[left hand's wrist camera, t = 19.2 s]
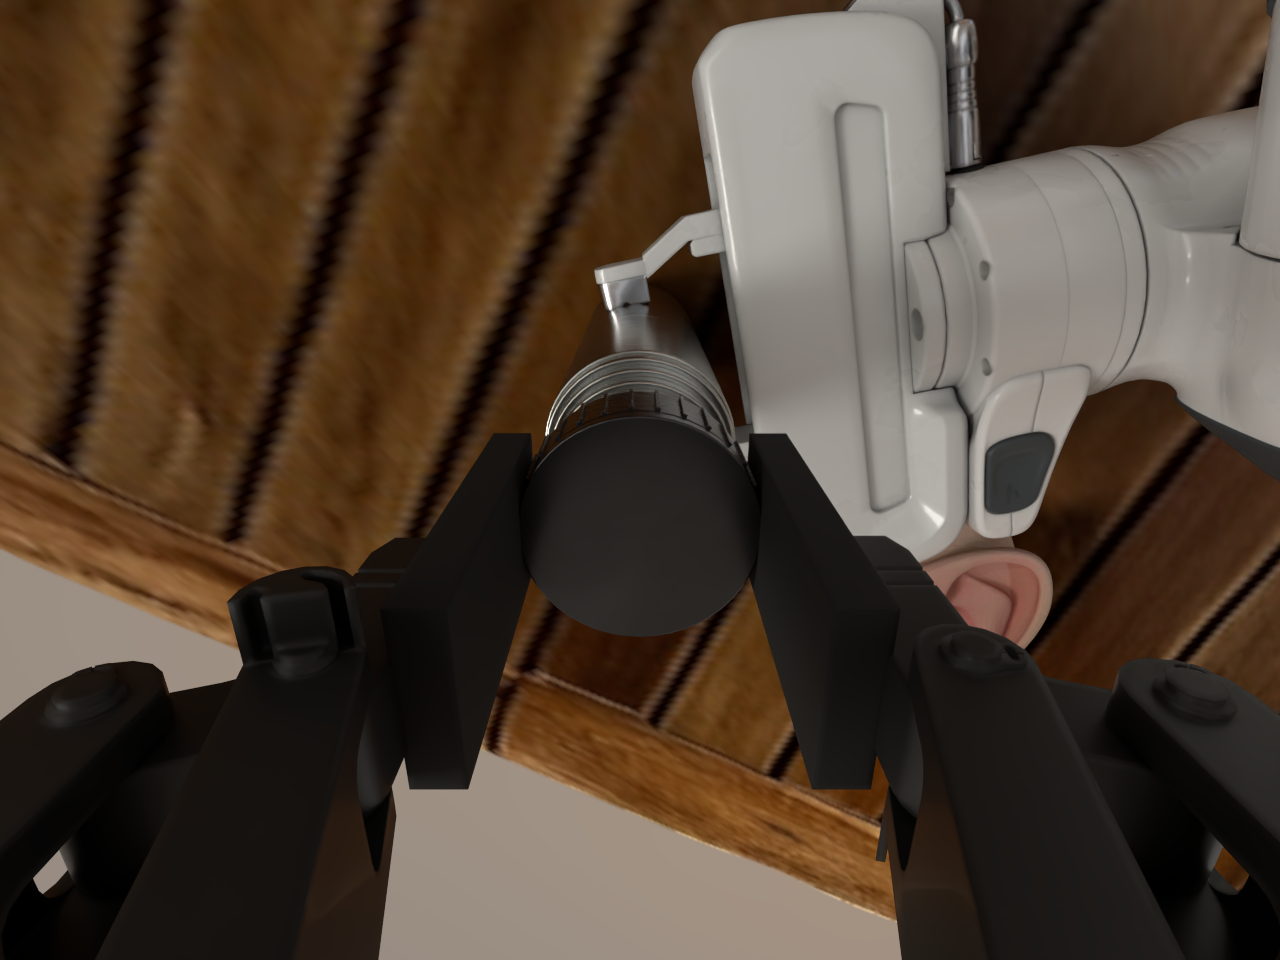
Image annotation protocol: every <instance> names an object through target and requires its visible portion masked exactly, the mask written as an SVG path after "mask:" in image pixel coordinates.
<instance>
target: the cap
mask: <svg viewBox="0 0 1280 960" xmlns="http://www.w3.org/2000/svg"><path fill="white" fill-rule="evenodd" d="M525 481H527V484H526V487H525V489H524V492H523V495H522V499H521V502H520V506H519V519H520V533H521V547H522V556H523V560H524V563H525V565H526V567H527V569H528V571H529V573H530V575H531V577H532V578H533V580H534V582H535V583H536V585H537V586H538V588H539V589H540V590H541V591H542V593H543V594H544V595H545V596H546V597H547V598H548V599H549V600H550V601H551V602H552V603H553V604H554V605H555V606H556V607H557V608H559V609H560V610H561V611H563V612H564V613H565V614H567V615H568V616H570V617H571V618H573V619H575V620H577V621H579V622H580V623H582V624H584V625H587V626H589V627H592V628H594V629H597V630H600V631H604V632H607V633H611V634H617V635H623V636H637V637H643V636H657V635H663V634H669V633H673V632H676V631H680V630H683V629H686V628H688V627H691V626H693V625H696V624H698V623H700V622H702V621H703V620H705V619H707V618H709V617H710V616H712V615H713V614H715V613H716V612H717V611H719V610H720V609H722V608H723V607H724V606H725V605H726V604H727V603H728V602H729V601H730V600H731V599H732V598H733V597H734V596H735V595H736V594H737V593H738V591H739V590H740V589H741V588H742V586H743V585H744V583H745V582H746V580H747V579H748V577H749V575H750V574H751V571H752V569H753V567H754V565H755V563H756V560H757V557H758V552H759V539H760V526H761V507H760V502H759V499H758V495H757V492H756V489H757V488H758V486H757V483H756V481H755V479H754V476H753V474H752V472H751V469H750V467H749V465H748V462H747V461H746V459H745V457H744V454H743V452H742V449H741V447H740V445H739V443H738V441H737V440H736V441H734V440H733V439H732V437H731V436H730V434H729V433H728V432H727V429H726V427H725V424H724V423H723V422H721V423H719V422H718V421H717V420H715V419H714V418H713V417H712V416H711V415H710V414H708V413H707V410H706V408H705V407H703V406H702V408H699V407H698V406H696V405H694V404H692V403H690V402H688V401H686V400H684V397H683V396H679V398H677V397H674V396H671V395H667V394H662V393H659V390H655V392H644V391H636V392H634V390H633V389H629V392H623V393H618V394H613V395H609V394H608V393H606V394H604V397H603V398H600V399H597V400H594V401H592V402H590V403H588V404H585V402H584V403H582V404H581V406H580V408H579V409H578V410H576V411H575V412H573V413H572V414H570V415H569V416H568V417H567V418H565V417H564V416H563V417H562V418H561V420H560V423H559V425H558V426H557V427H556V429H555V430H554V431H553V432H552V433H551V434H550V435H549V434H547V435H546V436H545V439H544V441H543V444H542V446H541V448H540V451H539V453H538V455H537V454H536V455H535V457H534V459H533V462H532V464H531V466H530V469H529V471H528V473H527V476H526V478H525Z"/></svg>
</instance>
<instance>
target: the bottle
mask: <svg viewBox="0 0 1280 960" xmlns="http://www.w3.org/2000/svg"><path fill="white" fill-rule="evenodd" d="M648 289H649V294H650V302H645V303H641V304H634V305H631V304H629V303H626V302H625V304H624V305H623V306H622V307H619V308H617V309H613V310H603V306H602V302H601V303H600V304H599V305H598V307H597V308H596V310H595V312H594V314H593V316H592V318H591V320H590V323H589V325H588V327H587V329H586V331H585V334H584V336H583V338H582V340H581V343H580V345H579V347H578V349H577V351H576V354H575V356H574V358H573V360H572V363H571V365H570V367H569V369H568V371H567V374H566V376H565V378H564V380H563V382H562V385H561V387H560V389H559V391H558V394H557V396H556V398H555V400H554V403H553V405H552V407H551V409H550V412H549V416H548V419H547V423H546V430H545V436H546V435H547V434H549V435H550V434H551V433H552V432H553V431H554V430H555V429H556V427H557V426H558V425H559V423H560V420H561V418H562V417H563V416H564V417H565V418H567V417H568V416H569V415H570V414H572V413H573V412H575V411H576V410H578V409H579V408H580V406H581V404H582V403H584V402H585V404H588V403H590V402H592V401H594V400H597V399H600V398H603V397H604V394H606V393H608V394H609V395H613V394H618V393H623V392H629V389H633V390H634V392H636V391H644V392H655V390H659V393H662V394H667V395H671V396H674V397H677V398H679V396H683V397H684V400H686V401H688V402H690V403H692V404H694V405H696V406H698V407H699V408H702V406H703V407H705V408H706V410H707V413H708V414H710V415H711V416H712V417H713V418H714V419H715V420H717V421H718V422H719V423H721V422H723V423H724V424H725V427H726V429H727V432H728V433H729V434H730V436H731V437H732V439H733V440H734V441H735V428H734V423H733V418H732V415H731V412H730V409H729V406H728V404H727V402H726V400H725V397H724V395H723V393H722V391H721V389H720V386H719V384H718V382H717V380H716V377H715V375H714V373H713V371H712V368H711V366H710V364H709V362H708V360H707V357H706V355H705V353H704V351H703V348H702V346H701V344H700V342H699V339H698V337H697V335H696V333H695V331H694V328H693V326H692V324H691V322H690V319H689V317H688V315H687V313H686V311H685V309H684V308H683V306H682V305H681V303H680V302H679V301H678V300H677V299H676V298H675V297H674V296H673V295H672V294H670V293H669V292H667V291H666V290H664V289H662V288H660V287H657V286H654V285H649V284H648Z"/></svg>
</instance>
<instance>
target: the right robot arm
mask: <svg viewBox="0 0 1280 960" xmlns="http://www.w3.org/2000/svg"><path fill="white" fill-rule="evenodd" d="M944 8H945V9H946V11H947V13H948V15H949V19H950V22H951V23H950V24H947V25H945V23H944ZM1267 14H1268V15H1269V16H1270V17H1271V18H1272V21H1271V28H1270V35H1269V41H1268V48H1267V55H1266V61H1265V68H1264V75H1263V81H1262V88H1261V95H1260V101H1259V106H1257V107H1251V108H1246V109H1241V110H1236V111H1230V112H1225V113H1221V114H1217V115H1212V116H1207V117H1203V118H1199V119H1195V120H1192V121H1188V122H1185V123H1182V124H1180V125H1178V126H1175V127H1173V128H1171V129H1168V130H1166V131H1164V132H1163V133H1161V134H1159V135H1157V136H1155V137H1153V138H1151V139H1150V140H1147V141H1145V142H1142V143H1140V144H1137V145H1132V146H1128V147H1108V146H1098V145H1085V146H1076V147H1068V148H1064V149H1060V150H1056V151H1051V152H1046V153H1042V154H1037V155H1033V156H1028V157H1024V158H1019V159H1015V160H1011V161H1006V162H1002V163H997V164H992V165H988V166H984V165H982V163H981V132H980V112H979V107H978V105H979V103H978V99H977V98H976V97H977V90H975V88H976V81H975V79H976V64H977V63H978V56H979V42H978V33H977V27H976V24H975V21H974V19H973V18H966V19H964V14H963V10H962V7H961V5H960V2H959V0H851V1H850V2H849V3H848V4H847V5H846V7H845V8H844V9H843V10H842V11H837V12H823V13H810V14H800V15H791V16H783V17H776V18H769V19H764V20H758V21H752V22H747V23H742V24H738V25H734V26H730V27H727V28H725V29H723V30H721V31H720V32H719V33H717V34H716V35H715V36H714V37H713V38H712V40H711V41H710V42H709V44H708V45H707V47H706V48H705V49H704V51H703V52H702V54H701V56H700V58H699V60H698V61H697V64H696V66H695V68H694V72H693V76H692V87H693V94H694V100H695V106H696V113H697V119H698V125H699V131H700V138H701V144H702V150H703V157H704V163H705V169H706V175H707V182H708V188H709V194H710V200H711V207H712V210H707V211H703V212H699V213H694V214H690V215H686V216H681V217H680V218H679V219H678V220H677V221H676V222H675V223H674V224H673V225H672V226H671V227H670V228H669V229H668V230H666V231H665V232H664V233H663V234H662V235H661V236H660V237H659V238H658V239H657V240H656V241H655V242H654V243H653V244H652V245H651V246H650V247H648V248H647V249H646V250H645V251H644V252H643V253H642V256H643V257H640V258H635V259H631V260H626V261H622V262H617V263H613V264H608V265H604V266H601V267H598V268H596V269H595V270H594V271H595V276H596V281H597V285H598V289H599V293H600V298H601V302H602V306H603V310H613V309H617V308H619V307H622V306H623V305H624V304H625V302H626V303H629V304H631V305H634V304H641V303H645V302H650V294H649V289H648V283H647V278H649V277H650V276H651V275H652V274H653V273H654V272H655V271H656V270H657V269H659V268H660V267H661V266H662V265H663V264H664V263H665V262H666V261H667V260H668V259H669V258H671V257H672V256H673V255H674V254H675V253H676V252H677V251H678V250H679V249H680V248H681V247H683V246H684V245H685V244H686V243H687V247H688V251H689V252H690V253H691V254H692V255H693V256H695V257H699V256H704V255H709V254H714V253H719V257H720V263H721V269H722V276H723V282H724V288H725V295H726V301H727V307H728V313H729V320H730V326H731V332H732V339H733V345H734V351H735V357H736V364H737V370H738V376H739V382H740V389H741V395H742V401H743V408H744V414H745V420H746V425H744V426H739V427H734V428H735V441H736V440H737V441H738V443H739V445H740V447H741V449H742V452H743V454H744V457H745V459H746V461H747V462H748V447H749V433H786V434H787V435H788V437H789V438H790V440H791V441H792V443H793V444H794V446H795V447H796V449H797V450H798V452H799V454H800V455H801V457H802V458H803V460H804V461H805V463H806V464H807V466H808V467H809V469H810V470H811V472H812V473H813V475H814V477H815V478H816V480H817V481H818V483H819V484H820V486H821V487H822V489H823V490H824V492H825V493H826V495H827V496H828V498H829V500H830V501H831V503H832V504H833V506H834V507H835V509H836V510H837V512H838V513H839V515H840V516H841V518H842V519H843V521H844V523H845V524H846V526H847V527H848V529H849V530H850V532H851V533H852V535H853V536H887V537H888V538H890V539H892V540H893V541H895V542H896V543H898V544H900V545H901V546H903V547H905V548H906V549H908V550H909V551H910V552H911V553H912V554H913V556H914V557H915V558H916V559H917V561H918V562H921V561H924V560H926V559H929V558H931V557H933V556H935V555H937V554H939V553H940V552H942V551H943V550H945V549H946V548H947V547H948V546H950V545H951V544H952V543H953V542H954V541H955V539H956V538H957V537H958V536H959V534H960V533H961V531H962V529H963V527H964V524H966V525H967V526H969V527H970V528H971V529H973V530H974V531H976V532H977V533H979V534H980V535H982V536H983V537H986V538H1004V537H1009V536H1014V535H1017V534H1020V533H1022V532H1024V531H1026V530H1027V529H1028V528H1029V527H1030V526H1031V525H1032V523H1033V522H1034V520H1035V518H1036V516H1037V514H1038V511H1039V509H1040V506H1041V503H1042V500H1043V497H1044V494H1045V491H1046V489H1047V486H1048V483H1049V480H1050V477H1051V475H1052V472H1053V469H1054V467H1055V464H1056V462H1057V459H1058V456H1059V454H1060V451H1061V449H1062V447H1063V444H1064V442H1065V439H1066V437H1067V435H1068V433H1069V431H1070V428H1071V426H1072V424H1073V422H1074V420H1075V418H1076V416H1077V414H1078V412H1079V410H1080V408H1081V406H1082V404H1083V402H1084V400H1085V398H1086V396H1090V395H1093V394H1096V393H1099V392H1101V391H1103V390H1106V389H1108V388H1111V387H1113V386H1115V385H1118V384H1121V383H1124V382H1128V381H1133V380H1139V379H1149V380H1157V381H1162V382H1166V383H1168V384H1169V385H1171V386H1172V387H1173V388H1174V389H1175V390H1176V392H1177V394H1176V395H1175V400H1176V401H1177V402H1178V403H1179V404H1180V405H1181V406H1182V407H1183V409H1184V410H1185V411H1186V412H1188V413H1189V414H1190V415H1191V416H1192V417H1193V418H1194V419H1196V420H1197V421H1198V422H1199V423H1200V424H1202V425H1203V426H1204V427H1206V428H1207V429H1208V430H1209V431H1211V432H1212V433H1213V434H1215V435H1216V436H1217V437H1219V438H1220V439H1222V440H1223V441H1224V442H1226V443H1227V444H1228V445H1230V446H1231V447H1232V448H1234V449H1235V450H1236V451H1238V452H1239V453H1240V454H1242V455H1243V456H1244V457H1246V458H1247V459H1248V460H1250V461H1251V462H1252V463H1254V464H1255V465H1256V466H1257V467H1258V468H1260V469H1261V470H1262V471H1264V472H1265V473H1267V474H1268V475H1270V476H1271V477H1273V478H1274V479H1276V480H1278V481H1279V482H1280V0H1267ZM949 171H950V172H949ZM945 172H948V175H945ZM646 276H647V277H646Z"/></svg>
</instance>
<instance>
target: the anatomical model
mask: <svg viewBox="0 0 1280 960" xmlns="http://www.w3.org/2000/svg"><path fill="white" fill-rule="evenodd" d="M919 563H920V565H921V566H922V567H923V571H926V572H927V573H928V575H929V576H930V577H931V578H932V580H933V581H934V585H937V586H938V587H939V589H940V590H941V591H942V592H943V594H944V595H945V596H946V597H947V599H948V600H949V601H950V603H951V604H952V605H953V606H954V608H955V609H956V610H957V611H958V613H959V614H960V615H961V617H962V618H963V619H964V620H965V622H966V623H967V624H968V625H969V626H973V627H977V628H982V629H986V630H989V631H991V632H993V633H996V634H998V635H1001V636H1003V637H1006V638H1008V639H1009V640H1011V641H1012V642H1014V643H1015V644H1017V645H1018V646H1020V647H1021V648H1023V649H1025V648H1026V646H1027V645H1028V644H1029V643H1030V642H1031V641H1032V639H1033V638H1034V637H1035V636H1036V634H1037V633H1038V631H1039V630H1040V628H1041V627H1042V625H1043V623H1044V622H1045V620H1046V618H1047V616H1048V613H1049V610H1050V607H1051V603H1052V596H1053V584H1052V577H1051V574H1050V571H1049V569H1048V567H1047V565H1046V564H1045V562H1044V561H1043V560H1042V559H1041V558H1040V557H1038V556H1037V555H1035V554H1033V553H1031V552H1029V551H1026V550H1023V549H1019V548H1014V544H1013V541H1012V537H1011V536H1009V537H1004V538H986V537H983V536H982V535H980V534H979V533H977V532H976V531H974V530H973V529H971V528H970V527H969V526H967V525H966V524H964V527H963V529H962V531H961V533H960V534H959V536H958V537H957V538H956V539H955V541H954V542H953V543H952V544H951V545H950V546H948V547H947V548H946V549H945V550H943V551H942V552H940V553H939V554H937V555H935V556H933V557H931V558H929V559H926V560H924V561H921V562H919Z"/></svg>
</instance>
